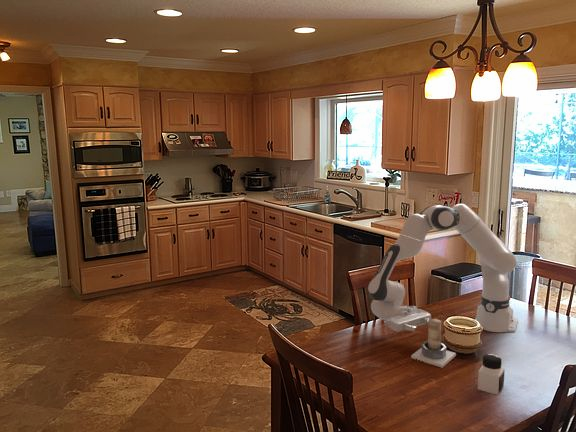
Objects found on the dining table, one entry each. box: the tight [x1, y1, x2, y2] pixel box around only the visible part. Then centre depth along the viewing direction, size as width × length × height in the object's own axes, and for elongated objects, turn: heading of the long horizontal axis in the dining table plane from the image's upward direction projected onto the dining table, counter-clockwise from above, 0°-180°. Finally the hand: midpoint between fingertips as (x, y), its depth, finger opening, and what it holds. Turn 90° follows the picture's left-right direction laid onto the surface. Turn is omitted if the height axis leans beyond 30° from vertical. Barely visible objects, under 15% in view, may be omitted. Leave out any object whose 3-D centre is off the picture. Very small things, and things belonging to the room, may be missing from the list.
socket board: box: [411, 340, 457, 369], centre depth 194 cm, size 13×13×5 cm
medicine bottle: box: [477, 353, 505, 396], centre depth 169 cm, size 7×7×12 cm
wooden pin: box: [427, 318, 442, 350], centre depth 193 cm, size 5×5×14 cm
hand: (423, 326), depth 198 cm, fingers open, 8 cm apart
